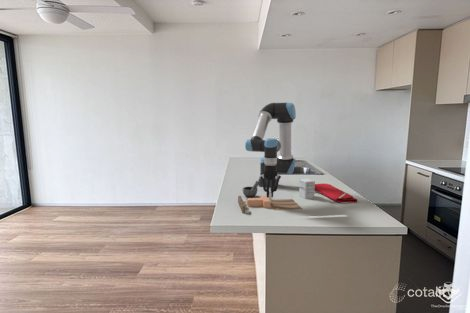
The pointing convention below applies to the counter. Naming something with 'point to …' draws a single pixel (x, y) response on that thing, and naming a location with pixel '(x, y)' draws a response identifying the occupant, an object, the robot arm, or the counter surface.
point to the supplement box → (306, 188)
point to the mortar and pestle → (250, 190)
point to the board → (276, 205)
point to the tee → (259, 202)
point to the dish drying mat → (334, 193)
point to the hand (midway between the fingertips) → (269, 202)
